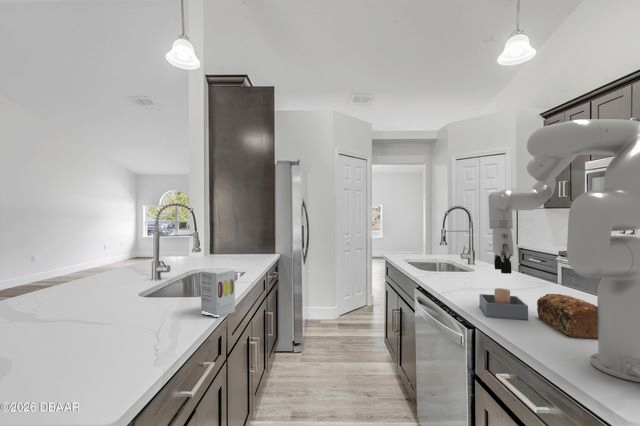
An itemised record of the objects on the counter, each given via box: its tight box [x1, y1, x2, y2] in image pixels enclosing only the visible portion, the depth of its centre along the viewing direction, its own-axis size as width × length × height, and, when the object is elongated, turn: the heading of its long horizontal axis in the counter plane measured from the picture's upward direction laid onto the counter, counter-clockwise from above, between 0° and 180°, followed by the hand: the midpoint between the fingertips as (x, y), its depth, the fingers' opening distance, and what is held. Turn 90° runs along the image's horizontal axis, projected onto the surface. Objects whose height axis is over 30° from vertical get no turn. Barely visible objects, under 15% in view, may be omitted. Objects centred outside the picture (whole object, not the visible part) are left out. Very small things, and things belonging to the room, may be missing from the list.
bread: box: [536, 293, 598, 340], centre depth 101 cm, size 19×11×10 cm, turn 170°
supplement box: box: [200, 267, 236, 318], centre depth 122 cm, size 10×9×17 cm
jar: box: [494, 287, 511, 304], centre depth 116 cm, size 5×5×8 cm
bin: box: [478, 293, 529, 321], centre depth 116 cm, size 13×13×5 cm
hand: (502, 271), depth 115 cm, fingers open, 9 cm apart
